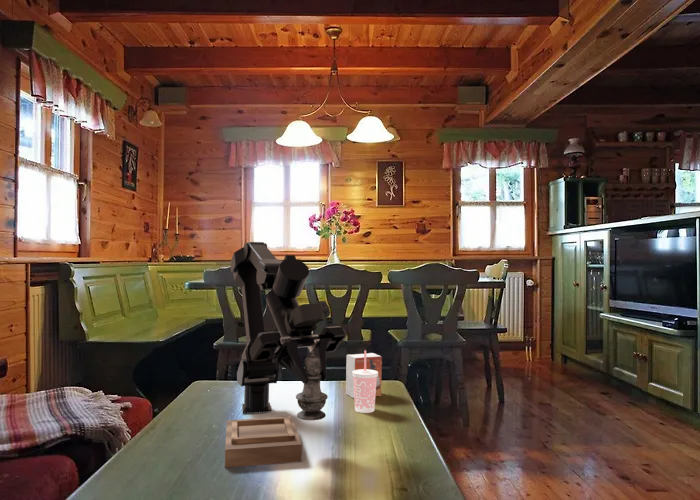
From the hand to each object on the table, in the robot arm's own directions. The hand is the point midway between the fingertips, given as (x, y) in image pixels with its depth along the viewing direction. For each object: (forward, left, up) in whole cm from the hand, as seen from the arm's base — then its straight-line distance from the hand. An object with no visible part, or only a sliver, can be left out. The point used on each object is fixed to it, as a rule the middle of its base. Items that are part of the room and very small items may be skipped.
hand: (315, 381), depth 92 cm
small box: (-38, +19, -13) cm, 45 cm away
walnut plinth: (-5, -9, -13) cm, 17 cm away
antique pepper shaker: (-1, 0, -7) cm, 7 cm away
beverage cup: (-25, +16, -13) cm, 32 cm away
